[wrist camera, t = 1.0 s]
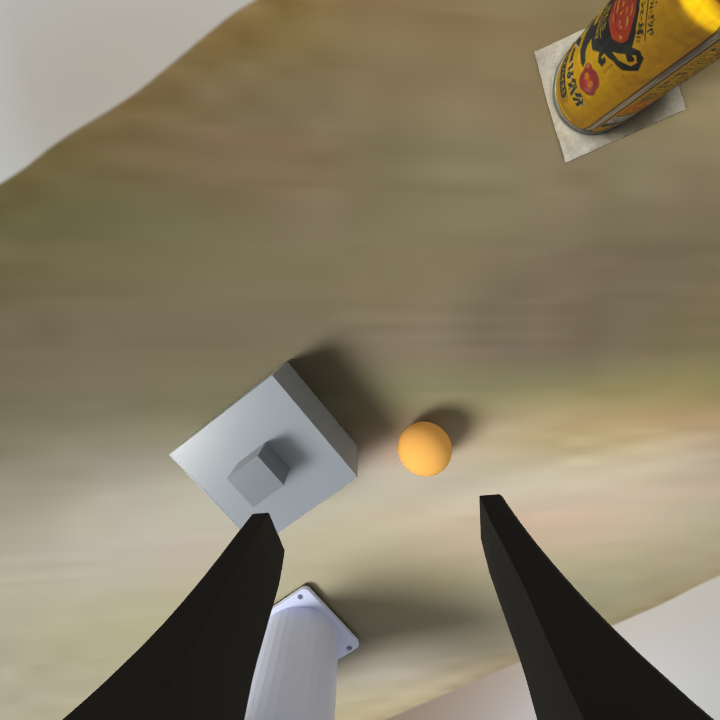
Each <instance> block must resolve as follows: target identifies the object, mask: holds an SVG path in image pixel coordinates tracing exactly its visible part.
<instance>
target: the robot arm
mask: <svg viewBox="0 0 720 720" xmlns="http://www.w3.org/2000/svg"><path fill="white" fill-rule="evenodd" d="M480 524H481V540H482V544H483V548H484V553H485V557H486V560H487V564H488V568H489V572H490V575H491V578H492V581H493V584H494V587H495V590H496V593H497V595H498V598H499V601H500V604H501V607H502V610H503V612H504V615H505V618H506V621H507V624H508V627H509V629H510V632H511V635H512V638H513V641H514V644H515V646H516V649H517V652H518V655H519V658H520V661H521V664H522V667H523V670H524V673H525V677H526V680H527V684H528V687H529V691H530V695H531V698H532V702H533V705H534V709H535V713H536V716H537V720H714V719H713V718H711V717H710V716H709V715H707V713H705V712H704V711H703V710H702V709H701V708H700V707H698V706H697V705H696V704H695V703H694V702H693V701H691V700H690V699H689V698H688V697H687V696H686V695H685V694H684V693H682V692H681V691H680V690H679V689H678V688H677V687H676V686H675V685H674V684H673V683H671V682H670V681H669V680H668V679H667V678H666V677H665V676H664V675H663V674H661V673H660V672H659V671H658V670H657V669H656V668H655V667H654V666H653V665H651V664H650V663H649V662H648V661H647V660H646V659H645V658H644V657H643V656H641V655H640V654H639V653H638V652H637V651H636V650H635V649H634V648H633V647H632V646H631V645H630V644H629V643H628V642H627V641H626V640H625V639H624V638H623V637H622V636H621V635H620V634H619V633H617V632H616V631H615V630H614V629H613V628H612V626H611V625H610V624H609V623H608V622H607V621H606V620H605V619H604V618H603V617H602V616H601V615H600V614H599V613H598V612H597V611H596V610H595V609H594V608H593V607H592V606H591V605H590V604H589V603H588V602H587V601H586V600H585V599H584V598H583V597H582V596H581V594H580V593H579V592H578V591H577V590H576V589H575V588H574V587H573V586H572V585H571V583H570V582H569V581H568V580H567V579H566V578H565V577H564V576H563V575H562V573H561V572H560V571H559V570H558V569H557V568H556V566H555V565H554V564H553V563H552V562H551V560H550V559H549V558H548V557H547V556H546V554H545V553H544V552H543V551H542V550H541V548H540V547H539V546H538V545H537V544H536V542H535V541H534V540H533V538H532V537H531V536H530V535H529V533H528V532H527V531H526V529H525V528H524V527H523V525H522V524H521V523H520V521H519V520H518V519H517V517H516V516H515V515H514V513H513V512H512V510H511V509H510V507H509V506H508V504H507V503H506V501H505V500H504V498H503V497H502V496H501V495H499V494H497V495H484V496H480ZM283 558H284V548H283V546H282V543H281V541H280V538H279V536H278V534H277V531H276V529H275V526H274V524H273V521H272V519H271V517H270V514H269V513H256V514H252V515H251V516H250V518H249V519H248V520H247V522H246V523H245V524H244V525H243V527H242V528H241V529H240V531H239V532H238V533H237V535H236V536H235V537H234V539H233V540H232V541H231V543H230V544H229V545H228V546H227V548H226V549H225V550H224V552H223V553H222V554H221V556H220V557H219V558H218V559H217V561H216V562H215V563H214V564H213V566H212V567H211V568H210V570H209V571H208V572H207V573H206V575H205V576H204V577H203V578H202V580H201V581H200V582H199V583H198V584H197V586H196V587H195V588H194V589H193V590H192V592H191V593H190V594H189V595H188V596H187V597H186V599H185V600H184V601H183V602H182V603H181V605H180V606H179V607H178V608H177V609H176V610H175V611H174V613H173V614H172V615H171V616H170V617H169V618H168V619H167V620H166V621H165V623H164V624H163V625H162V626H161V627H160V628H159V629H158V630H157V631H156V632H155V633H154V634H153V635H152V636H151V637H150V638H149V639H148V641H147V642H146V643H145V644H144V645H143V646H142V647H141V648H140V649H139V650H138V651H137V652H136V653H135V654H133V655H132V656H131V657H130V658H129V659H128V660H127V661H126V662H125V663H124V664H123V665H122V666H121V667H120V668H119V669H118V670H117V671H116V672H115V673H114V674H113V675H112V676H111V677H110V678H109V679H108V680H107V681H106V682H104V683H103V684H102V685H101V686H100V687H99V688H98V689H97V690H96V691H95V692H93V693H92V694H91V695H90V696H89V697H88V698H87V699H86V700H85V701H83V702H82V703H81V704H80V705H79V706H78V707H77V708H75V709H74V710H73V711H72V712H71V713H70V714H69V715H67V716H66V717H65V718H64V719H63V720H335V703H336V685H337V666H338V660H339V659H341V658H342V657H344V656H345V655H347V654H349V653H350V652H352V651H353V650H355V649H356V648H358V646H359V640H358V638H357V637H356V636H355V635H354V634H353V633H352V632H351V631H350V630H349V629H348V628H347V627H346V626H345V625H344V624H343V622H342V621H341V620H340V619H339V618H338V617H337V616H336V615H335V614H334V613H333V612H332V611H331V610H330V609H329V608H328V607H327V605H326V604H325V603H324V602H323V601H322V600H321V599H320V598H319V597H318V596H317V595H316V594H315V593H314V592H313V591H312V589H311V588H310V587H308V586H302V587H301V588H299V589H298V590H296V591H295V592H293V593H292V594H290V595H289V596H287V597H286V598H284V599H283V600H281V601H280V602H279V603H277V604H276V605H274V606H273V604H274V600H275V597H276V593H277V589H278V586H279V581H280V576H281V570H282V564H283ZM300 594H301V595H300Z"/></svg>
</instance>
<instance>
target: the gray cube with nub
mask: <svg viewBox="0 0 720 720" xmlns="http://www.w3.org/2000/svg"><path fill="white" fill-rule="evenodd" d="M169 455H170V456H171V457H172V458H173V459H174V460H175V461H176V462H177V463H178V464H179V465H180V466H181V468H182V469H183V470H184V471H185V472H186V473H187V474H188V475H189V476H190V477H191V478H192V479H193V480H194V481H195V482H196V483H197V484H198V485H199V487H200V488H201V489H202V490H203V491H204V492H205V493H206V494H207V495H208V496H209V497H210V498H211V499H212V500H213V501H214V502H215V503H216V504H217V505H218V507H219V508H220V509H221V510H222V511H223V512H224V513H225V514H226V515H227V516H228V517H229V518H230V519H231V520H232V521H233V522H234V523H235V524H236V526H237V527H238V528H239V529H241V528H242V527H243V525H244V524H245V523H246V522H247V520H248V519H249V518H250V516H251V515H252V514H256V513H269V514H270V517H271V519H272V521H273V524H274V526H275V529H276V531H277V533H278V532H280V531H281V530H283V529H284V528H286V527H287V526H288V525H290V524H291V523H293V522H294V521H295V520H297V519H298V518H300V517H301V516H303V515H304V514H305V513H307V512H308V511H310V510H311V509H312V508H314V507H315V506H317V505H318V504H320V503H321V502H322V501H324V500H325V499H327V498H328V497H329V496H331V495H332V494H334V493H335V492H337V491H338V490H339V489H341V488H342V487H344V486H345V485H346V484H348V483H349V482H351V481H352V480H354V479H355V478H356V477H357V445H356V444H355V443H354V441H353V440H352V439H351V438H350V437H349V435H348V434H347V433H346V432H345V430H344V429H343V428H342V427H341V426H340V424H339V423H338V422H337V421H336V420H335V418H334V417H333V416H332V415H331V413H330V412H329V411H328V410H327V409H326V407H325V406H324V405H323V404H322V403H321V401H320V400H319V399H318V398H317V397H316V395H315V394H314V393H313V392H312V390H311V389H310V388H309V387H308V386H307V384H306V383H305V382H304V381H303V380H302V378H301V377H300V376H299V375H298V373H297V372H296V371H295V370H294V369H293V367H292V366H291V365H290V364H289V363H288V361H286V362H285V363H284V364H283V365H281V366H280V367H279V368H277V369H276V370H275V371H274V372H272V373H271V374H270V375H268V376H267V377H266V378H265V379H263V380H262V381H261V382H259V383H258V384H257V385H256V386H254V387H253V388H252V389H250V390H249V391H248V392H247V393H245V394H244V395H243V396H241V397H240V398H239V399H237V400H236V401H235V402H234V403H232V404H231V405H230V406H228V407H227V408H226V409H225V410H223V411H222V412H221V413H219V414H218V415H217V416H216V417H214V418H213V419H212V420H210V421H209V422H208V423H207V424H205V425H204V426H203V427H201V428H200V429H199V430H198V431H197V432H196V433H194V434H193V435H192V436H191V437H190V438H188V439H187V440H186V441H185V442H184V443H182V444H181V445H180V446H179V447H178V448H177V449H175V450H174V451H173V452H172V453H171V454H169Z"/></svg>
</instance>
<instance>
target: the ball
mask: <svg viewBox="0 0 720 720" xmlns="http://www.w3.org/2000/svg"><path fill="white" fill-rule="evenodd" d="M398 452H399V456H400V459H401V461H402V463H403V464H404V466H405V467H406V468H407V469H408V470H409V471H411V472H412V473H414V474H417V475H420V476H433V475H436V474H438V473H440V472H441V471H443V470H444V469H445V468H446V466H447V465H448V463H449V461H450V459H451V454H452V446H451V442H450V439H449V437H448V435H447V434H446V433H445V431H444V430H443V429H442V428H440V427H439V426H437V425H436V424H433V423H430V422H417V423H414V424H412V425H410V426H409V427H407V428H406V429H405V430H404V432H403V433H402V435H401V436H400V439H399V443H398Z"/></svg>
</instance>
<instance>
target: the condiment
mask: <svg viewBox="0 0 720 720" xmlns="http://www.w3.org/2000/svg"><path fill="white" fill-rule="evenodd" d="M534 52H535V57H536V60H537V64H538V67H539V72H540V75H541V79H542V84H543V88H544V92H545V95H546V99H547V103H548V106H549V109H550V112H551V116H552V119H553V123H554V126H555V130H556V133H557V136H558V139H559V140H560V145H561V148H562V151H563V155H564V159H565V162H568V161H570V160H572V159H574V158H577V157H579V156H581V155H584V154H586V153H588V152H591V151H593V150H595V149H597V148H600V147H602V146H604V145H606V144H609V143H611V142H613V141H615V140H618V139H620V138H622V137H624V136H627V135H629V134H631V133H633V132H635V131H638V130H640V129H642V128H645V127H647V126H649V125H651V124H654V123H656V122H658V121H661V120H663V119H665V118H667V117H669V116H671V115H674V114H676V113H678V112H681V111H683V110H685V109H686V107H685V103H684V99H683V97H682V95H681V92H680V87H679V85H680V84H681V83H683V82H684V81H687V80H688V79H689V78H690V77H692V76H693V75H695V74H696V73H698V72H699V71H701V70H702V69H704V68H705V67H707V66H708V65H710V64H712V63H713V62H715V61H716V60H718V59H720V0H610V1H609V2H608V3H607V4H606V6H605V7H604V8H603V9H602V10H601V12H600V13H599V14H598V15H597V16H596V17H595V18H594V20H593V21H592V22H591V23H590V24H589V25H588V27H587V28H585V29H583V30H581V31H579V32H576V33H574V34H572V35H570V36H568V37H566V38H564V39H562V40H560V41H557V42H555V43H553V44H551V45H549V46H547V47H544V48H542V49H540V50H537V51H534Z"/></svg>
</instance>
